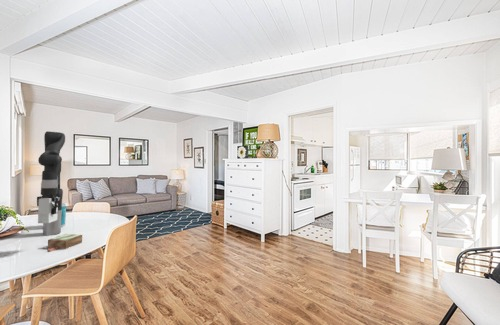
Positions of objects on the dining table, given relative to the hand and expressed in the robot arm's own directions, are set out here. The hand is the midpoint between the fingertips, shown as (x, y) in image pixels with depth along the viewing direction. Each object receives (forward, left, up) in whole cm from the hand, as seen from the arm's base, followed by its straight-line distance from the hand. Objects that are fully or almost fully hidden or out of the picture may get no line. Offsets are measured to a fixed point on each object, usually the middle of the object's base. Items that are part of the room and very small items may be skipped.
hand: (48, 213), depth 136 cm
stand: (+5, +7, -21) cm, 23 cm away
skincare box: (0, 0, -5) cm, 5 cm away
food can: (-38, +42, -22) cm, 61 cm away
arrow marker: (+5, -2, -21) cm, 22 cm away
